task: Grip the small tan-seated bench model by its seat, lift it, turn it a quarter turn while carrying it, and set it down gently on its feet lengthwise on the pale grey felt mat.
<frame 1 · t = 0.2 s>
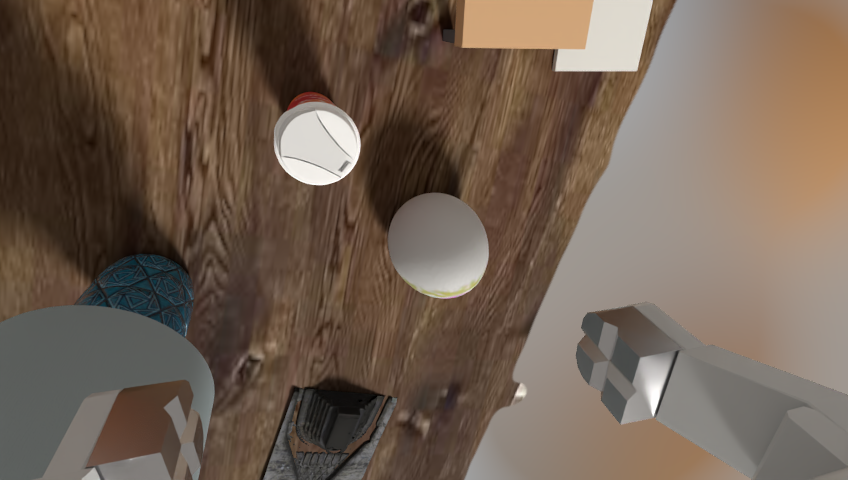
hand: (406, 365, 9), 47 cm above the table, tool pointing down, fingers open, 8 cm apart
architectural model: (322, 452, 77), on the table
bench model: (498, 15, 52), on the table
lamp: (152, 283, 56), on the table
paper cup: (311, 115, 52), on the table
decorative egg: (424, 223, 62), on the table
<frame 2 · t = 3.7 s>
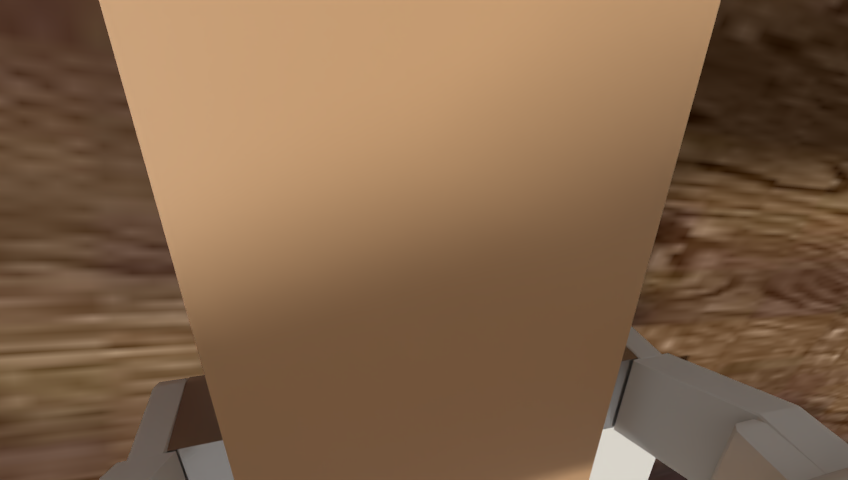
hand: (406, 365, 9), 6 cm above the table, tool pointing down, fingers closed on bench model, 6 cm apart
bench model: (367, 242, 14), on the table, touching gripper
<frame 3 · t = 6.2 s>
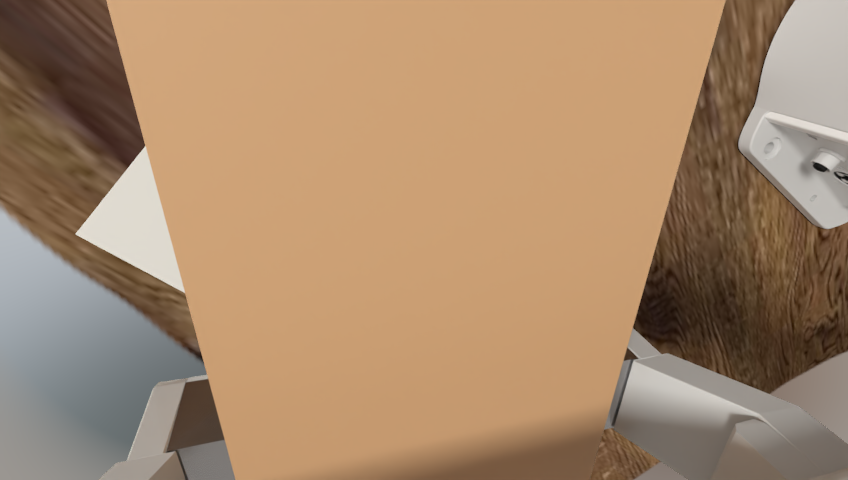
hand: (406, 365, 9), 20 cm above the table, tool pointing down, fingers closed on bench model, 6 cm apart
bench model: (367, 241, 14), point 14 cm above the table, touching gripper
felt mat: (295, 250, 29), on the table
when the fingers open (8 cm above the table, at t = 8.9 s): bench model drops 1 cm, resting on felt mat.
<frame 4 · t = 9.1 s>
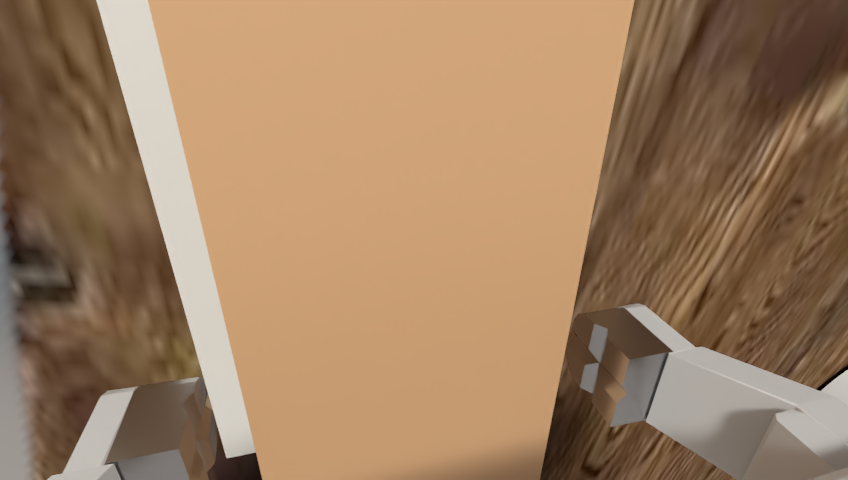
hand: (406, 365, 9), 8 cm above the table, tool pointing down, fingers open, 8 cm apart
bench model: (360, 223, 15), point 1 cm above the table, touching felt mat
felt mat: (356, 214, 16), on the table
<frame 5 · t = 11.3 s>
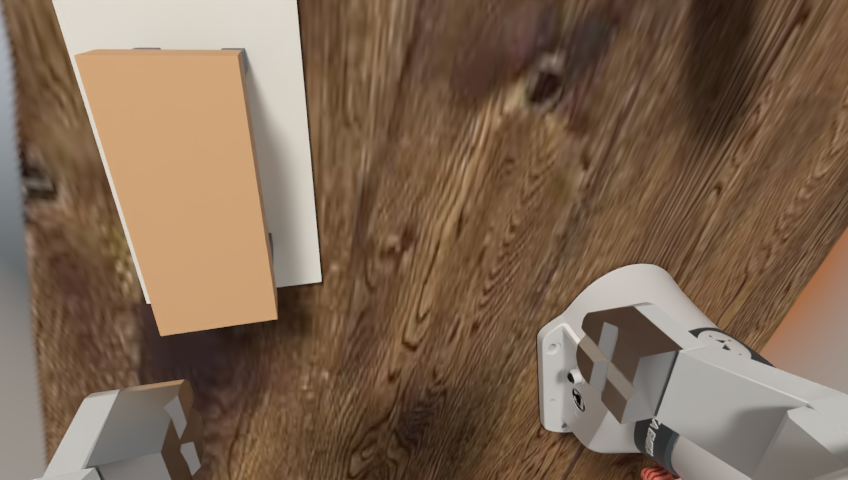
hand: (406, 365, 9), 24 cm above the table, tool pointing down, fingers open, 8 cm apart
bench model: (214, 161, 28), point 1 cm above the table, touching felt mat
felt mat: (214, 156, 29), on the table
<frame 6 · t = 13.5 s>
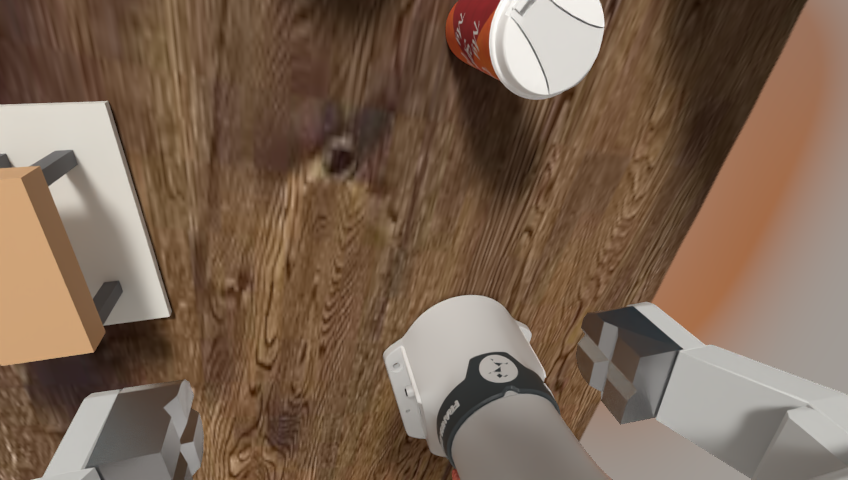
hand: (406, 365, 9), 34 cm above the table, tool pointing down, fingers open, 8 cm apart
bench model: (61, 229, 37), point 1 cm above the table, touching felt mat
paper cup: (474, 29, 40), on the table
felt mat: (65, 225, 38), on the table
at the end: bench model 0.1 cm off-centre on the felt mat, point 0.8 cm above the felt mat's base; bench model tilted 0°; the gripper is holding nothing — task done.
